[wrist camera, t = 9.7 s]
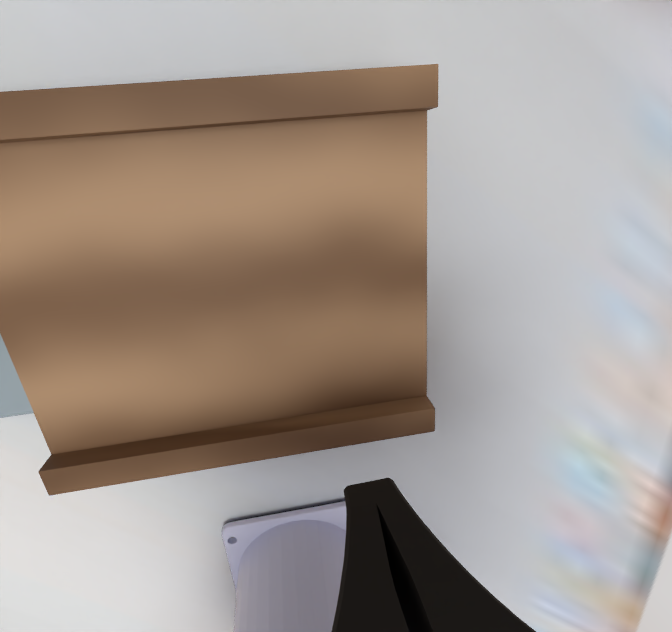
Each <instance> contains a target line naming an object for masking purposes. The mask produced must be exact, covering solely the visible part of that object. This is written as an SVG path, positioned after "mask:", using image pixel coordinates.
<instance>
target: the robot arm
mask: <svg viewBox="0 0 672 632" xmlns="http://www.w3.org/2000/svg"><path fill="white" fill-rule="evenodd" d="M344 495H345V501H344V502H338V503H333V504H327V505H322V506H316V507H311V508H305V509H300V510H294V511H289V512H283V513H278V514H272V515H267V516H261V517H256V518H250V519H245V520H239V521H234V522H229V523H226V524H225V525H224V526H223V528H222V538H223V542H224V546H225V550H226V554H227V558H228V561H229V565H230V569H231V573H232V577H233V581H234V585H235V589H236V593H237V595H236V607H235V619H234V631H233V632H536V631H534V630H533V629H532V628H531V627H529V626H528V625H527V624H526V623H524V622H523V621H522V620H521V619H519V618H518V617H517V616H516V615H515V614H513V613H512V612H511V611H510V610H509V609H508V608H507V607H505V606H504V605H503V604H502V603H501V602H500V601H499V600H498V599H496V598H495V597H494V596H493V595H492V594H491V593H490V592H489V591H488V590H487V589H486V588H485V587H483V586H482V585H481V584H480V583H479V582H478V581H477V580H476V579H475V578H474V577H473V576H472V575H471V574H470V573H469V572H468V571H467V570H466V569H465V568H464V567H463V566H462V565H461V564H460V563H459V562H458V561H457V560H456V559H455V558H454V556H453V555H452V554H451V553H450V552H449V551H448V550H447V549H446V548H445V547H444V546H443V545H442V543H441V542H440V541H439V540H438V539H437V538H436V537H435V535H434V534H433V533H432V532H431V531H430V529H429V528H428V527H427V526H426V525H425V524H424V522H423V521H422V520H421V519H420V517H419V516H418V515H417V514H416V512H415V511H414V510H413V508H412V507H411V506H410V505H409V503H408V502H407V500H406V499H405V498H404V496H403V495H402V494H401V492H400V491H399V489H398V488H397V486H396V485H395V483H394V481H393V480H392V479H390V478H385V479H380V480H375V481H370V482H365V483H360V484H355V485H350V486H347V487H346V488H345V489H344ZM230 537H235V538H230Z"/></svg>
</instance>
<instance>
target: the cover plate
mask: <svg viewBox="0 0 672 632" xmlns="http://www.w3.org/2000/svg"><path fill="white" fill-rule="evenodd" d="M30 413H34V412H33V409H32V407H31V405H30V402H29V400H28V398H27V395H26V393H25V391H24V388H23V386H22V384H21V381H20V379H19V376H18V374H17V372H16V369H15V367H14V365H13V362H12V360H11V358H10V355H9V353H8V351H7V348H6V346H5V343H4V341H3V339H2V336H1V334H0V418H3V417H9V416H16V415H23V414H30Z"/></svg>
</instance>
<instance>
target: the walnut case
mask: <svg viewBox="0 0 672 632" xmlns="http://www.w3.org/2000/svg"><path fill="white" fill-rule="evenodd" d="M436 107H438V64H431V65H415V66H399V67H384V68H368V69H352V70H337V71H321V72H305V73H290V74H274V75H258V76H243V77H227V78H211V79H196V80H180V81H164V82H149V83H133V84H117V85H102V86H86V87H70V88H55V89H39V90H23V91H8V92H0V334H1V336H2V339H3V341H4V343H5V346H6V348H7V351H8V353H9V355H10V358H11V360H12V362H13V365H14V367H15V369H16V372H17V374H18V376H19V379H20V381H21V384H22V386H23V388H24V391H25V393H26V395H27V398H28V400H29V402H30V405H31V407H32V409H33V412H34V414H35V417H36V419H37V421H38V424H39V426H40V428H41V431H42V433H43V435H44V438H45V440H46V443H47V445H48V447H49V450H50V452H51V454H52V455H51V456H50V457H49V459H48V460H47V461H46V462H45V464H44V465H43V466H42V468H41V469H40V470H39V474H40V476H41V479H42V481H43V483H44V485H45V488H46V490H47V492H48V494H49V495H55V494H61V493H67V492H73V491H79V490H85V489H91V488H97V487H103V486H109V485H115V484H121V483H127V482H133V481H139V480H145V479H151V478H157V477H163V476H169V475H175V474H181V473H187V472H193V471H199V470H205V469H211V468H217V467H223V466H229V465H235V464H241V463H247V462H253V461H259V460H265V459H271V458H277V457H283V456H289V455H295V454H301V453H307V452H313V451H319V450H325V449H331V448H337V447H343V446H349V445H355V444H361V443H367V442H373V441H379V440H385V439H391V438H397V437H403V436H409V435H415V434H421V433H427V432H432V431H435V408H434V406H433V405H432V403H431V402H430V400H429V399H428V397H427V110H430V109H433V108H436Z"/></svg>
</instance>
